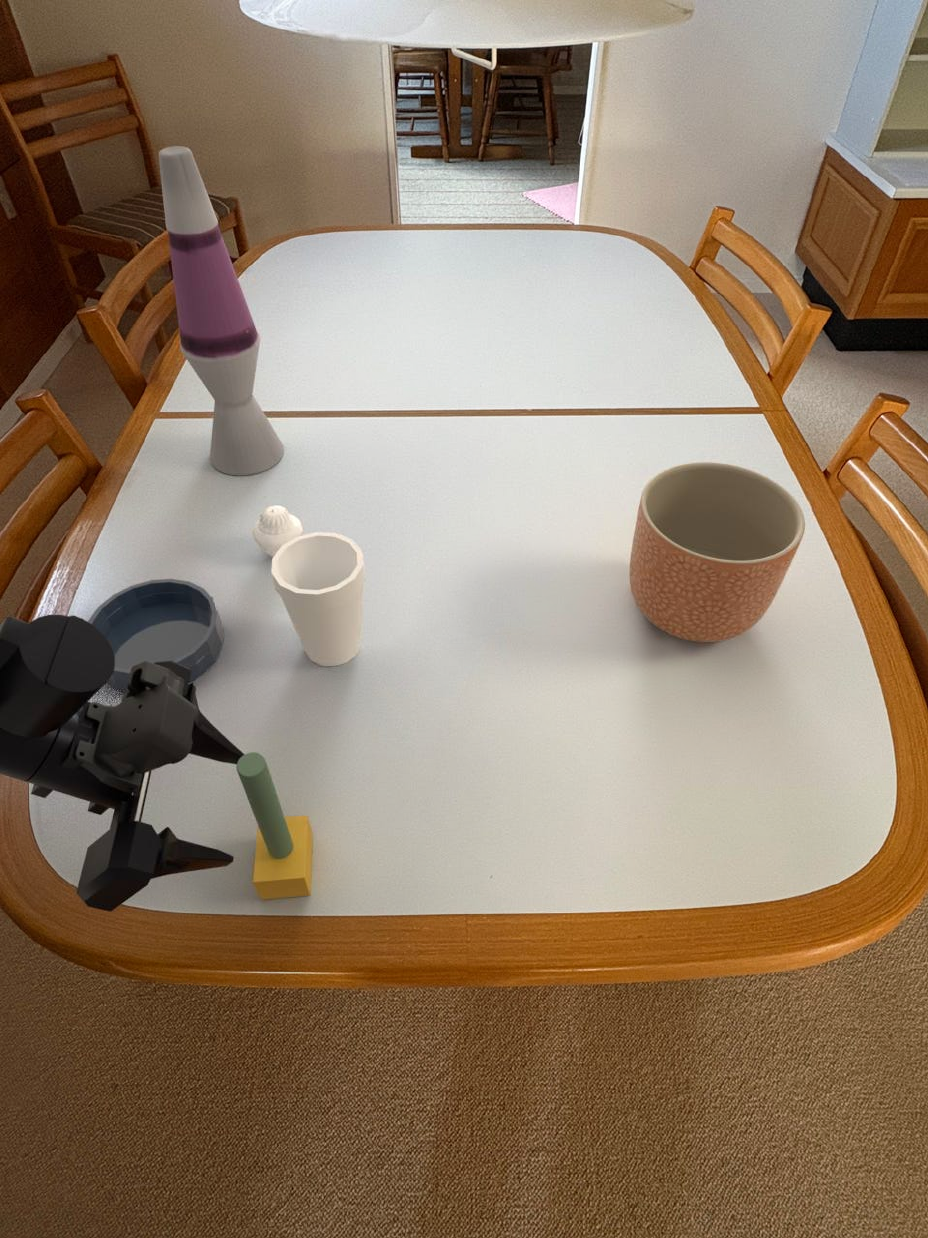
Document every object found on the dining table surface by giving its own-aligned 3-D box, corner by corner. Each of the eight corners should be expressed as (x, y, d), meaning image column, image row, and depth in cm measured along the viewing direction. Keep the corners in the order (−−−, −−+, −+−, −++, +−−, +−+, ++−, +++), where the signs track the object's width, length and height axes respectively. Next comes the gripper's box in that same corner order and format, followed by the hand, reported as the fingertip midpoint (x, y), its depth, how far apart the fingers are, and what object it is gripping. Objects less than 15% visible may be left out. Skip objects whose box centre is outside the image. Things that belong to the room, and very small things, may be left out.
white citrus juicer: (312, 538, 103) (304, 495, 98) (298, 570, 99) (289, 527, 93) (266, 533, 103) (256, 491, 98) (251, 565, 99) (239, 522, 94)
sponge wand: (260, 900, 70) (216, 801, 57) (265, 838, 74) (225, 733, 61) (310, 895, 70) (277, 796, 57) (313, 834, 74) (282, 729, 61)
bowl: (104, 712, 84) (91, 690, 81) (89, 623, 92) (77, 600, 90) (236, 669, 88) (229, 647, 85) (210, 588, 96) (202, 565, 94)
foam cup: (352, 686, 86) (339, 603, 76) (277, 665, 88) (254, 582, 78) (385, 625, 92) (377, 542, 83) (314, 607, 94) (297, 524, 85)
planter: (794, 618, 93) (839, 518, 82) (698, 686, 86) (733, 587, 75) (685, 542, 102) (712, 443, 91) (590, 598, 95) (607, 498, 84)
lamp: (205, 441, 118) (120, 140, 89) (277, 427, 120) (217, 130, 91) (215, 482, 111) (126, 171, 82) (290, 467, 113) (230, 159, 84)
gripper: (62, 813, 45) (289, 881, 54) (127, 585, 58) (302, 670, 66) (-18, 886, 50) (201, 936, 59) (58, 662, 63) (228, 731, 72)
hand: (237, 808), depth 64 cm, fingers open, 9 cm apart
